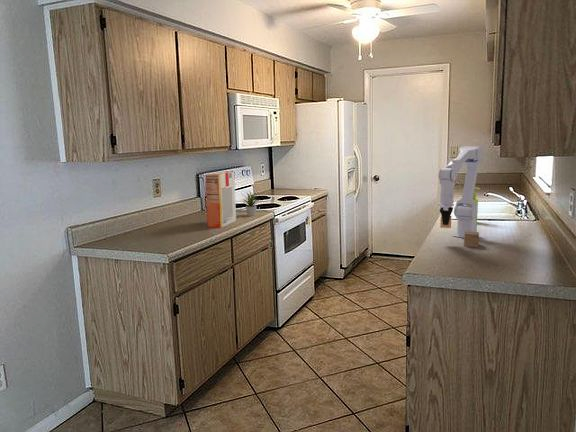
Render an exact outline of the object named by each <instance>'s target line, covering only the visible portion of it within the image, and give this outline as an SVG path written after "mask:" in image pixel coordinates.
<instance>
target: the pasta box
mask: <svg viewBox="0 0 576 432" xmlns="http://www.w3.org/2000/svg"><path fill="white" fill-rule="evenodd" d="M204 176H205V177H204V178H205V179H204V181H205V198H206V199H205V200H206V218H207V219H206V221H207V228H217V229H221V228H223V227H226V226H228V225H230V224H232V223H235V222H236V221H237V209H236V206H237V205H236V184H235V183H236V182H235V171H233V170H232V171H224V170H223V171H218V172H217V171H216V172H211V173H207V174H204Z"/></svg>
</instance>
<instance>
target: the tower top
mask: <svg viewBox="0 0 576 432" xmlns="http://www.w3.org/2000/svg"><path fill="white" fill-rule="evenodd" d="M479 239H480V232H479V231H477V232H471V231H465V239H464V238H463V240H469V241H480V240H479Z"/></svg>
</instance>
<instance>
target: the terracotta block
mask: <svg viewBox="0 0 576 432" xmlns="http://www.w3.org/2000/svg"><path fill="white" fill-rule="evenodd" d="M440 215H441V214H440ZM439 228H443V229H451V228H452V215H450V219H449V223H448V225H443V221H442V215H441V216H440V227H439Z"/></svg>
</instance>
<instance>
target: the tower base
mask: <svg viewBox="0 0 576 432" xmlns="http://www.w3.org/2000/svg"><path fill="white" fill-rule="evenodd" d="M464 239H465V237H464V238H463V240H464ZM479 241H480V240H479ZM479 241H469V240H464V242H463V247H469V248H470V247H472V248H474V247H475V248H479V243H480V242H479Z"/></svg>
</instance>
